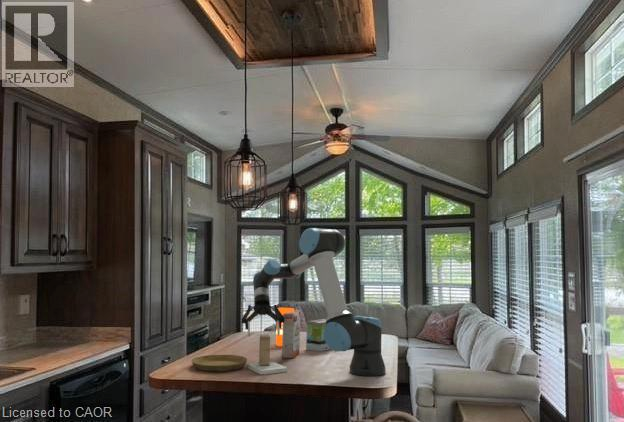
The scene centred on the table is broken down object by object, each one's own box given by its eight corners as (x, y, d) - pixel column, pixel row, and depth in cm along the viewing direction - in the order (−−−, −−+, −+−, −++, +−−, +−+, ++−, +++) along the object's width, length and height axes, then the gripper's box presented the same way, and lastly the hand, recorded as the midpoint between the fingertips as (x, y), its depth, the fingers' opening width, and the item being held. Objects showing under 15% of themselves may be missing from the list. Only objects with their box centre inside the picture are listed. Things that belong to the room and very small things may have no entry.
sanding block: (259, 362, 214) (259, 335, 216) (268, 362, 215) (268, 334, 216) (260, 366, 209) (260, 337, 210) (269, 365, 209) (270, 337, 210)
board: (287, 371, 206) (287, 367, 206) (260, 374, 200) (261, 370, 200) (272, 365, 218) (272, 361, 218) (247, 367, 212) (247, 363, 212)
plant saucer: (211, 359, 230) (212, 352, 230) (257, 364, 221) (257, 356, 221) (179, 370, 208) (179, 362, 208) (228, 376, 199) (228, 367, 199)
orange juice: (291, 346, 265) (292, 308, 266) (275, 345, 266) (276, 308, 268) (294, 343, 272) (295, 307, 274) (279, 343, 274) (279, 306, 275)
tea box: (321, 352, 250) (321, 322, 251) (305, 349, 256) (306, 320, 257) (337, 347, 262) (338, 319, 263) (322, 345, 268) (322, 318, 269)
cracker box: (293, 358, 232) (294, 314, 234) (281, 358, 233) (282, 313, 235) (300, 353, 246) (300, 311, 248) (288, 352, 247) (289, 310, 249)
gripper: (286, 303, 246) (290, 338, 229) (236, 304, 241) (236, 339, 225) (287, 293, 241) (291, 328, 225) (236, 293, 237) (236, 329, 220)
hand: (264, 334), depth 225 cm, fingers open, 13 cm apart
